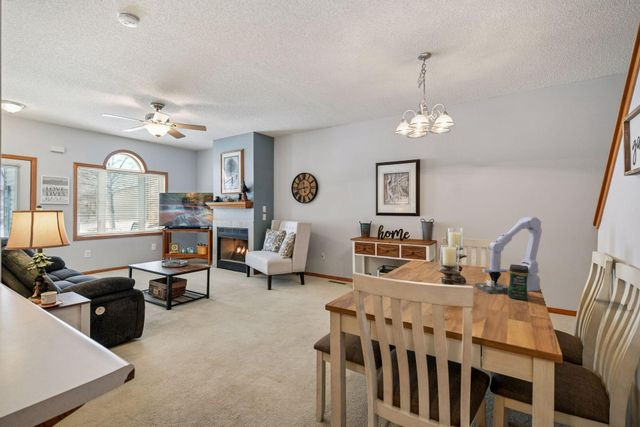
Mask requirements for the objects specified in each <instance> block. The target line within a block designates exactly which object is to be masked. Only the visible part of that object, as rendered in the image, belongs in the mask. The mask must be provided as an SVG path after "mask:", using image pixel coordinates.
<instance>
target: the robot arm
mask: <svg viewBox="0 0 640 427" xmlns="http://www.w3.org/2000/svg"><path fill="white" fill-rule="evenodd" d="M541 225H542V221H541V220H540V219H539V218H538V217H535V216H534V217H532V216H526V215H524V216H521V218H519V219H518V221H517V223H516V224H514V226H512V228H511V229H510V230H509V231H508V232H504V233H501V234H500V236H499V237H497V239H495V240H494V241H491V242H490V243H489V245H488V246H487V247H488V250H489V252H490V253H489V268H483V269H482V273H484V274H486V273H488V275H489V277H490V280H491V281H494V285H496V284H497V282H498V281H499V279H500V277H501V276H502V273H508V269H507V268H501V264H502V263H501V261H502V259H501V258H502V252H503V251H504V249H505V247H506V246H507V245H508V244H509V243H510V242H511V241H512V239H513V237H514V236H515V235H517V234H518V233H519V232H520V231H522V230H523V229H525V230H526V229H527V231H528V232H529V238H528V241H527V242H528V243H527V246H526V252H525V257H524V258H523V259H522V260H521V262H520V264H519V265H523V266H528V270H529V275H528V277H527V292H531V291H532V292H534V291H535V292H537V291H539V292H540V291H541V289H540V287H541V278H540V276H539V275H537V274H539V263H538V261H537V256H538V255H537V254H538V250H539V248H540V247H539V245H540V241H541V237H542V226H541Z"/></svg>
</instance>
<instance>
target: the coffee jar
mask: <svg viewBox="0 0 640 427" xmlns="http://www.w3.org/2000/svg"><path fill="white" fill-rule="evenodd" d="M508 273H509V283H508V287H509V288H508V293H507V297H509V299H516V300H528V297H529V296H528V293H529V292H528V291H527V277H528V275H529V270H528V266H523V265H520V264H510V266H509V270H508Z"/></svg>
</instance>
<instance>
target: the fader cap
mask: <svg viewBox="0 0 640 427" xmlns="http://www.w3.org/2000/svg"><path fill="white" fill-rule="evenodd" d="M486 283H487V285H488V286H490V287H494V281H492V280H491V279H487V280H486Z"/></svg>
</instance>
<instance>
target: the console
mask: <svg viewBox="0 0 640 427" xmlns="http://www.w3.org/2000/svg"><path fill="white" fill-rule="evenodd" d="M474 288H477V289H479V290H480V291H481V290H482V291H483V292H485V293H486V294H508V288H509V285H505V284H503V283H501V282H498V281H497V284H496V285H494V287H490V286H488V285H487V282H481V283H480V282H479V283H478V282H477V283H474Z"/></svg>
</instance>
